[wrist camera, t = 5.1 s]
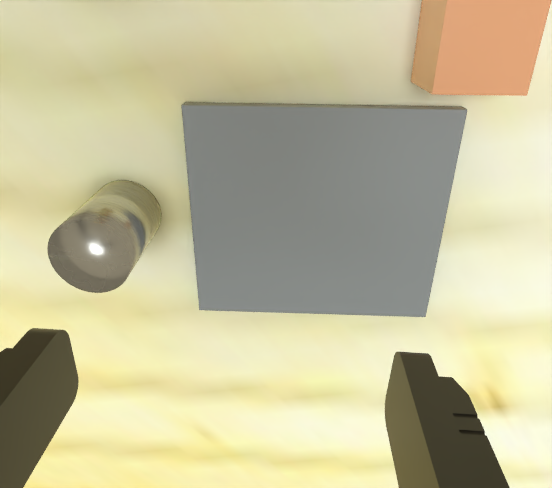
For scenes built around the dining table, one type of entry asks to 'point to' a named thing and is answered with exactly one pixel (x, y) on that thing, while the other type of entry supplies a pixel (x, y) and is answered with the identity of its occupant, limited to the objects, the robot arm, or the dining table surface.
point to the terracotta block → (478, 46)
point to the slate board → (319, 204)
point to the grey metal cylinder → (105, 237)
